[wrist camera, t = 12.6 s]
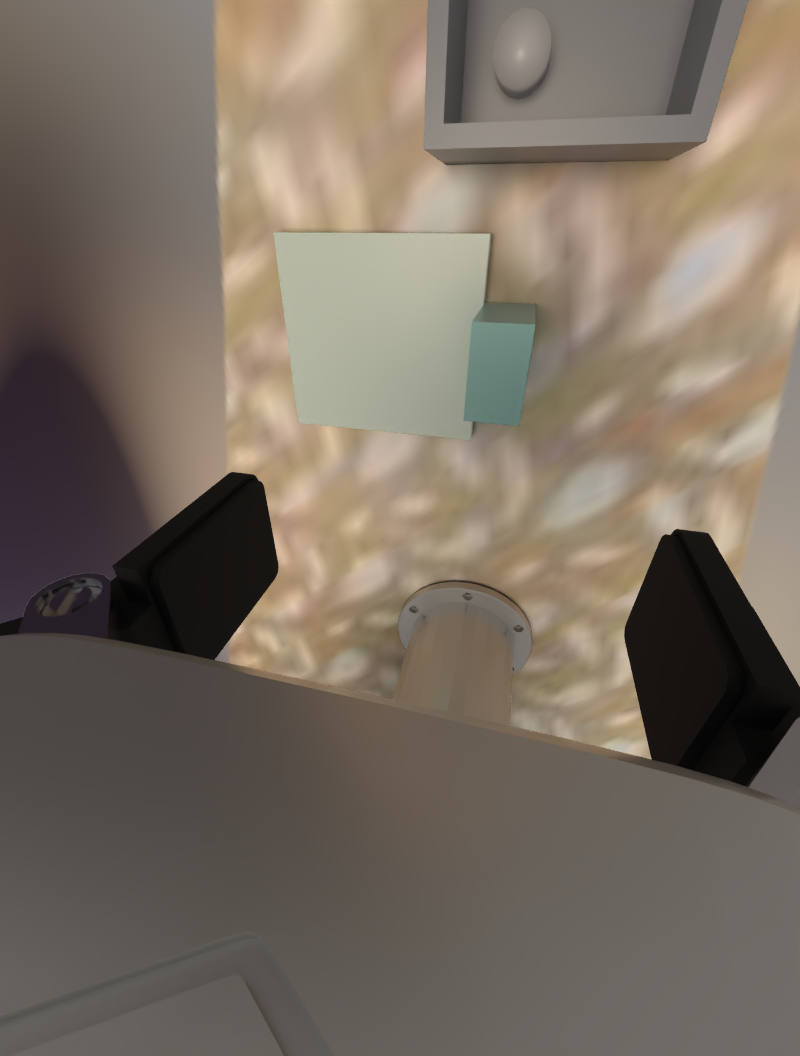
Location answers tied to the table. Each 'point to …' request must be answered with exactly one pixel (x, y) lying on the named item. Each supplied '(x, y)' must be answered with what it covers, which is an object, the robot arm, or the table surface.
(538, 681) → the table surface
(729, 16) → the tub
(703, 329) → the table surface
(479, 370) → the board with teal handle
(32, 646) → the robot arm
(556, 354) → the table surface
